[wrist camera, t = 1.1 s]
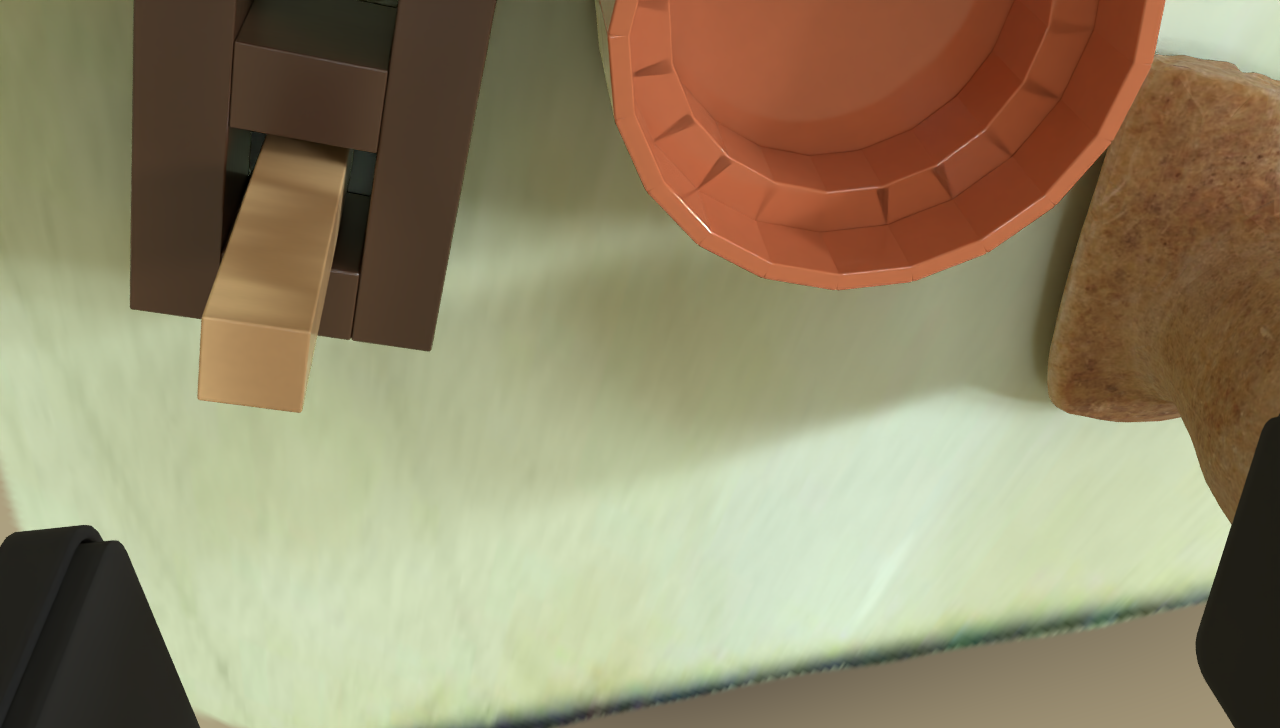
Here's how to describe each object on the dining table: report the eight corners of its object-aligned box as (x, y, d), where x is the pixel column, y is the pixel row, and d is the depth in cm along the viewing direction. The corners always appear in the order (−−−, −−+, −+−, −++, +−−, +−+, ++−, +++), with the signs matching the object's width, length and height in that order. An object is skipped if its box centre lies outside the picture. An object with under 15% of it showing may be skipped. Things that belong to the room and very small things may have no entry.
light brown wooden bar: (275, 156, 38) (196, 400, 28) (281, 88, 37) (201, 317, 26) (351, 170, 39) (301, 413, 28) (359, 102, 37) (311, 332, 27)
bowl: (547, 154, 39) (556, 244, 34) (665, -367, 31) (699, -344, 26) (959, 230, 43) (1020, 322, 38) (1165, -220, 34) (1277, -176, 30)
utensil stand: (165, 228, 39) (129, 309, 35) (181, -285, 31) (136, -254, 27) (436, 271, 41) (431, 352, 37) (521, -199, 33) (526, -158, 29)
